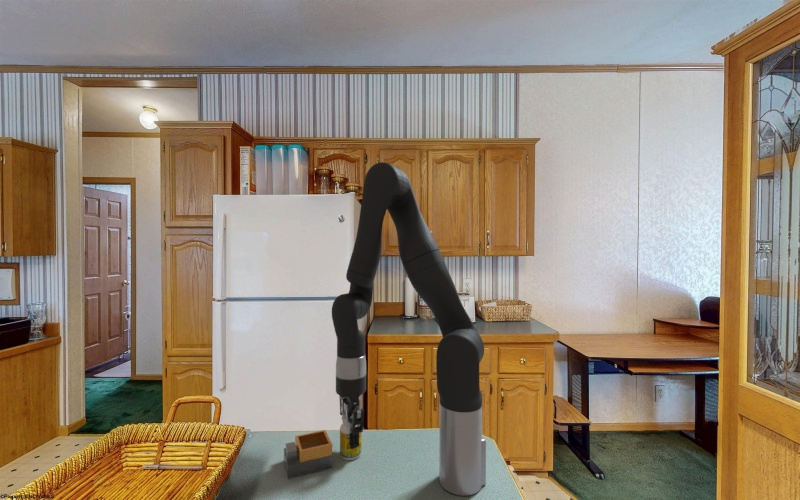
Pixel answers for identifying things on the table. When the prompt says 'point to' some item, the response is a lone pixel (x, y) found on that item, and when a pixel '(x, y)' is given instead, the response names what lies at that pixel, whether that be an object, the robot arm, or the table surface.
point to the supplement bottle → (348, 442)
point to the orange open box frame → (308, 454)
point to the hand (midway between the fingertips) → (350, 440)
